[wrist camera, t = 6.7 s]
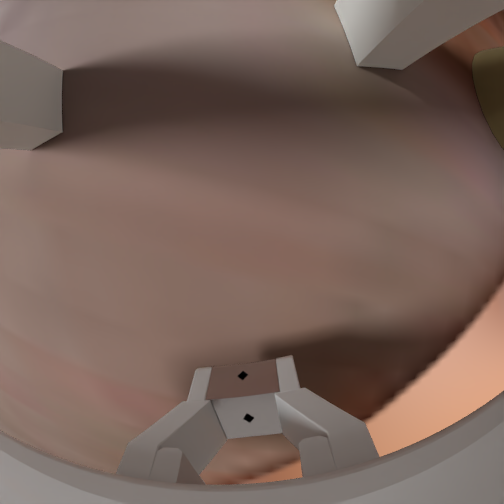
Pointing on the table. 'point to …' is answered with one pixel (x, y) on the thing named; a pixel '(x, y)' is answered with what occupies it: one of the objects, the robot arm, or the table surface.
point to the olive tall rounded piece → (491, 88)
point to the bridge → (351, 16)
